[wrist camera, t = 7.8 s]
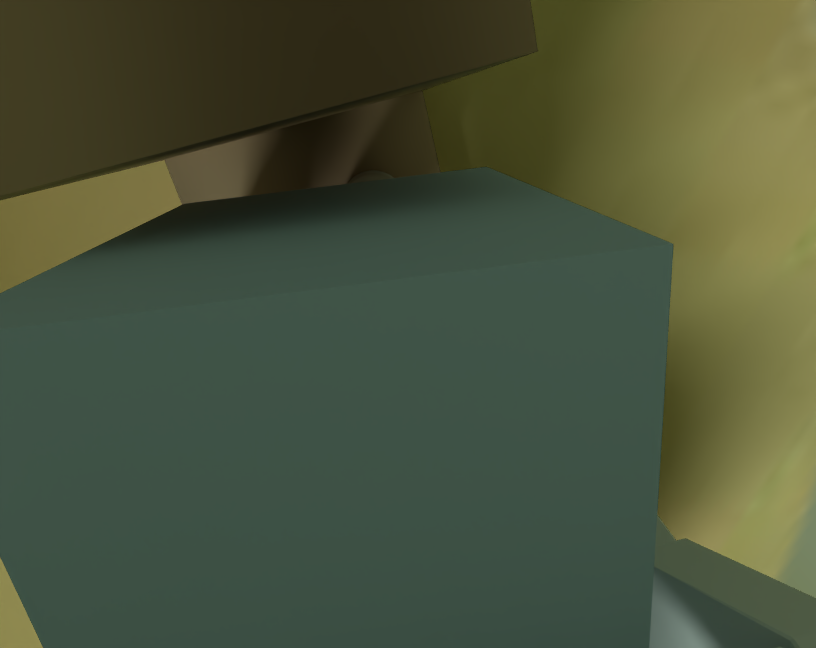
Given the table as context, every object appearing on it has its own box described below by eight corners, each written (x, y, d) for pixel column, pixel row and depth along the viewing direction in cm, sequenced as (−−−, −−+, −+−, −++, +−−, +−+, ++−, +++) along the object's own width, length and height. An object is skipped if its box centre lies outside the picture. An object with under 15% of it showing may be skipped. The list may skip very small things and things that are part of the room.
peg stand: (336, 568, 21) (316, 995, 11) (153, 100, 15) (-281, 75, 5) (514, 521, 21) (663, 908, 11) (405, 33, 15) (509, -140, 5)
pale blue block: (185, 203, 9) (-101, 343, 4) (486, 166, 9) (674, 243, 4) (310, 706, 13) (271, 1132, 8) (516, 676, 14) (623, 1072, 8)
